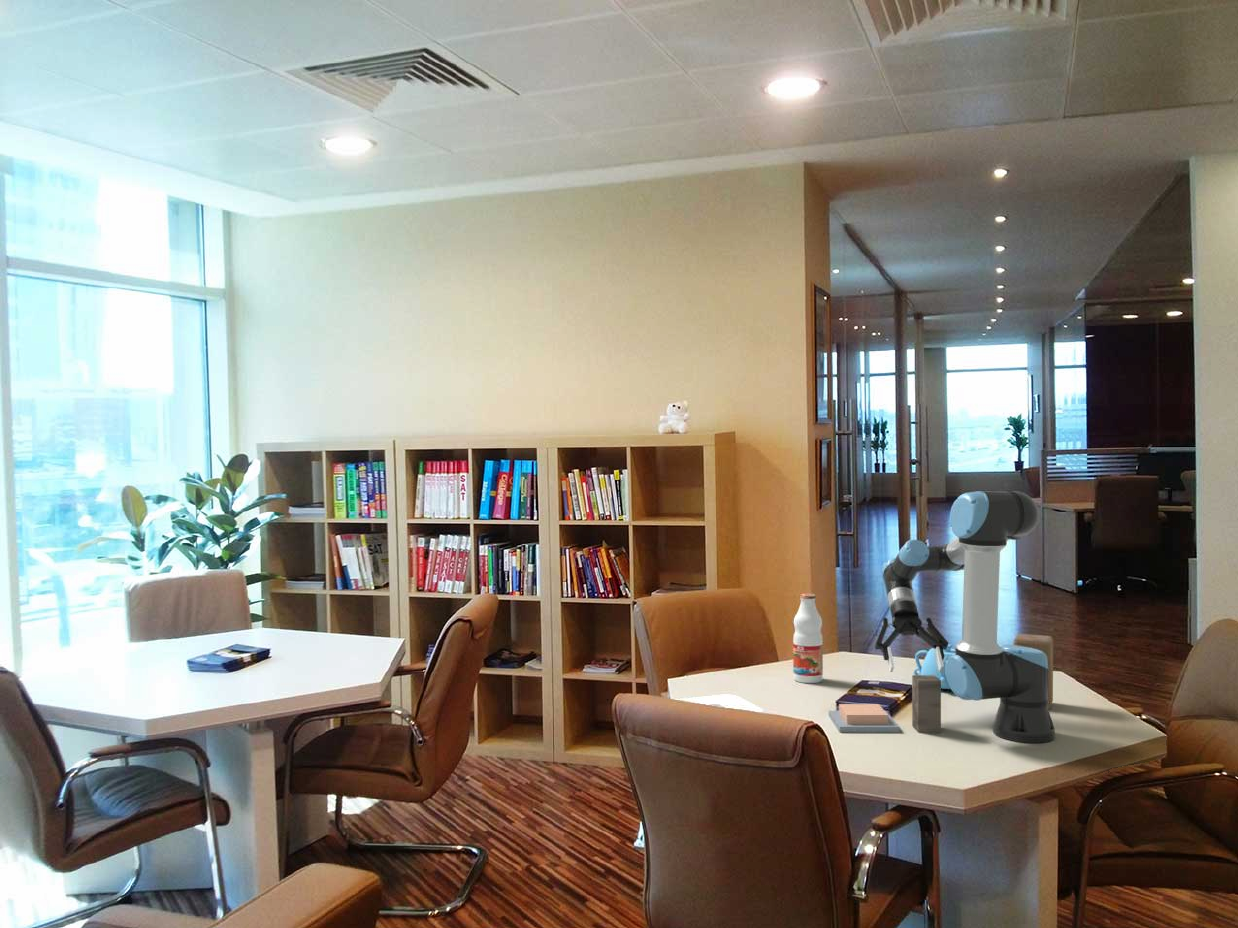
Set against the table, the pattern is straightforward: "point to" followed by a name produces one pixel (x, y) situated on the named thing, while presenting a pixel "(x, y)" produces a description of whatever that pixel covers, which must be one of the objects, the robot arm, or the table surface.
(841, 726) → the plinth
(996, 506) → the robot arm
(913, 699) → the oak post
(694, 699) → the computer
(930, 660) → the decorative pot
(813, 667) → the fruit juice
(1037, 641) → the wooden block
